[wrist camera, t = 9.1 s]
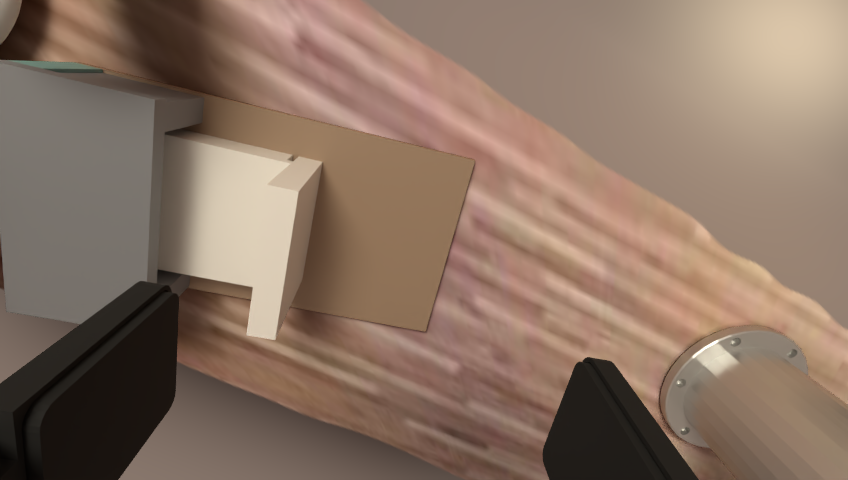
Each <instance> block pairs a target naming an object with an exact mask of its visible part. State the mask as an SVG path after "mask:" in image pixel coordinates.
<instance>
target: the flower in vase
mask: <svg viewBox="0 0 848 480" xmlns="http://www.w3.org/2000/svg"><path fill="white" fill-rule="evenodd" d="M21 3H22V0H0V44H1V43H2V42H3V41H4V40H5V39H6V38H7V36H8V34H9V33H10V31H11V30H12V28H13V26H14V24H15V22H16V20H17V17H18V15H19V12H20V7H21Z"/></svg>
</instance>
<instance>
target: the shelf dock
mask: <svg viewBox="0 0 848 480" xmlns="http://www.w3.org/2000/svg"><path fill="white" fill-rule="evenodd" d="M176 129H183V130H188V131H192V132H196V133H200V134H205V135H209V136H213V137H218V138H222V139H226V140H231V141H235V142H239V143H243V144H248V145H252V146H256V147H261V148H265V149H269V150H274V151H278V152H282V153H286V154H291V155H293V157H292V161H294V160H295V159H296V158H298V157H304V158H308V159H312V160H317V161H321V162H323V163H322V169H321V175H320V180H319V186H318V192H317V198H316V203H315V209H314V215H313V221H312V227H311V232H310V238H309V244H308V250H307V255H306V261H305V267H304V273H303V278H302V281H301V283H300V286H299V288H298V290H297V292H296V295H295V297H294V299H293V301H292V304H291V306H290V307H294V308H299V309H305V310H310V311H315V312H321V313H326V314H332V315H337V316H343V317H348V318H353V319H359V320H364V321H370V322H375V323H381V324H386V325H391V326H397V327H402V328H408V329H413V330H419V331H424V332H426V328H427V325H428V321H429V318H430V314H431V311H432V308H433V304H434V301H435V297H436V294H437V290H438V287H439V284H440V280H441V277H442V273H443V270H444V266H445V263H446V259H447V256H448V253H449V249H450V246H451V242H452V239H453V235H454V232H455V228H456V225H457V222H458V218H459V215H460V211H461V208H462V204H463V201H464V198H465V194H466V191H467V187H468V184H469V180H470V177H471V173H472V170H473V167H474V163H475V160H474V159H470V158H466V157H462V156H458V155H454V154H450V153H446V152H442V151H438V150H434V149H430V148H426V147H422V146H418V145H413V144H409V143H405V142H401V141H397V140H393V139H389V138H385V137H381V136H377V135H373V134H369V133H365V132H361V131H356V130H352V129H348V128H344V127H340V126H336V125H332V124H328V123H324V122H320V121H316V120H312V119H308V118H304V117H300V116H295V115H291V114H287V113H283V112H279V111H275V110H271V109H267V108H263V107H259V106H255V105H251V104H247V103H243V102H238V101H234V100H230V99H226V98H222V97H218V96H214V95H210V94H206V93H202V92H198V91H194V90H190V89H186V88H182V87H177V86H173V85H169V84H165V83H161V82H157V81H153V80H149V79H145V78H141V77H137V76H133V75H129V74H125V73H120V72H116V71H112V70H108V69H104V68H100V67H96V66H92V65H88V64H84V63H77V62H48V61H18V60H0V238H1V251H2V263H3V276H4V289H5V301H6V312H11V313H17V314H24V315H30V316H35V317H41V318H47V319H53V320H59V321H65V322H71V323H78V324H82V323H83V322H84V321H86V320H87V319H88V318H90V317H91V316H92V315H94V314H95V313H96V312H98V311H99V310H101V309H102V308H103V307H105V306H106V305H107V304H109V303H110V302H111V301H113V300H114V299H115V298H117V297H118V296H120V295H121V294H122V293H124V292H125V291H126V290H128V289H129V288H130V287H132V286H133V285H134V284H136V283H137V282H139V281H146V282H151V283H157V284H163V285H169V286H170V287H171V290H172V293H176V294H177V295H178V297H179V296H180V295H181V294H182V293H183V292H184V291H185V290H186V289H187V288H191V289H196V290H201V291H207V292H212V293H218V294H223V295H229V296H234V297H239V298H245V299H250V300H251V298H252V290H253V287H249V286H244V285H239V284H233V283H228V282H223V281H217V280H212V279H207V278H201V277H196V276H191V275H185V274H180V273H175V272H169V271H164V270H159V269H158V250H159V231H160V212H161V192H162V173H163V153H164V134H165V132H168V131H172V130H176Z"/></svg>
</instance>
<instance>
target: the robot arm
mask: <svg viewBox="0 0 848 480" xmlns="http://www.w3.org/2000/svg"><path fill="white" fill-rule="evenodd" d="M178 310H179V297H178V295H177V294H176V293H172V290H171V287H170V286H169V285H163V284H157V283H151V282H146V281H139V282H137V283H136V284H134V285H133V286H132V287H130V288H129V289H128V290H126V291H125V292H124V293H122V294H121V295H120V296H118V297H117V298H115V299H114V300H113V301H111V302H110V303H109V304H107V305H106V306H105V307H103V308H102V309H101V310H99V311H98V312H96V313H95V314H94V315H92V316H91V317H90V318H88V319H87V320H86V321H84V322H83V323H82V324H80V325H79V326H78V327H77V328H75V329H73V330H72V331H71V332H69V333H68V334H67V335H65V336H64V337H63V338H61V339H60V340H59V341H57V342H56V343H54V344H53V345H52V346H50V347H49V348H48V349H46V350H45V351H44V352H42V353H41V354H40V355H38V356H37V357H36V358H34V359H33V360H32V361H30V362H29V363H27V364H26V365H25V366H23V367H22V368H21V369H19V370H18V371H17V372H15V373H14V374H12V375H11V376H10V377H8V378H7V379H6V380H4V381H3V382H2V383H1V384H0V480H118V479H119V478H120V476H121V475H122V474H123V472H124V471H125V469H126V468H127V467H128V466H129V464H130V463H131V461H132V460H133V458H134V457H135V456H136V455H137V453H138V452H139V450H140V449H141V447H142V446H143V445H144V444H145V442H146V441H147V439H148V438H149V437H150V435H151V434H152V433H153V431H154V429H155V428H156V427H157V425H158V424H159V423H160V421H161V420H162V419H163V418H164V416H165V415H166V413H167V412H168V411H169V409H170V407H171V405H172V403H173V401H174V397H175V391H176V390H175V389H176V364H177V337H178ZM660 405H661V411H662V414H663V416H664V419H665V421H666V422H667V423H668V425H669V426H670V427H671V429H672V430H673V431H674V432H675V434H676V435H677V436H678V437H680V438H681V439H683V440H685V441H686V442H688V443H690V444H693V445H696V446H699V447H706V448H711V449H712V450H713V452H714V453H715V454H716V455H717V456H718V458H719V459H720V460H721V461H722V462H723V463H724V465H725V466H726V467H727V468H728V469H729V471H730V472H731V473H732V474H733V475H734V477H735V478H736V479H737V480H848V405H847V404H846V403H845V402H843V401H842V400H841V399H839V398H838V397H836V396H835V395H834V394H832V393H831V392H830V391H828V390H827V389H826V388H824V387H823V386H821V385H820V384H819V383H817V382H816V381H815V380H813V379H812V378H810V377H809V376H808V366H807V361H806V357H805V355H804V353H803V352H802V350H801V348H800V347H799V346H798V345H797V344H796V343H795V342H794V341H793V340H791V339H790V338H788V337H787V336H785V335H784V334H782V333H781V332H778V331H776V330H774V329H772V328H768V327H763V326H753V325H744V326H738V327H731V328H728V329H725V330H722V331H718V332H716V333H714V334H712V335H710V336H708V337H705V338H703V339H702V340H700V341H699V342H697V343H696V344H694V345H693V346H691V347H690V348H689V349H688V350H687V351H686V352H685V353H683V354H682V355H681V356H680V357H679V359H678V360H677V361H676V362H675V363H674V365H673V366H672V367H671V369H670V371H669V372H668V374H667V376H666V378H665V380H664V383H663V386H662V389H661V396H660ZM543 462H544V466H545V468H546V471H547V474H548V477H549V480H699V479H698V478H697V477H696V475H695V474H694V473H693V471H692V470H691V468H690V467H689V466H688V464H687V463H686V462H685V460H684V459H683V458H682V456H681V455H680V453H679V452H678V451H677V449H676V448H675V447H674V445H673V444H672V443H671V441H670V440H669V438H668V437H667V436H666V434H665V433H664V432H663V430H662V429H661V427H660V426H659V425H658V423H657V422H656V421H655V419H654V418H653V417H652V415H651V414H650V412H649V411H648V410H647V408H646V407H645V406H644V404H643V403H642V401H641V400H640V399H639V397H638V396H637V395H636V393H635V392H634V391H633V389H632V388H631V386H630V385H629V384H628V382H627V381H626V380H625V378H624V377H623V376H622V374H621V373H620V371H619V370H618V369H617V367H616V366H615V365H614V363H612V362H611V361H607V360H601V359H595V358H590V357H587V358H585V359H584V360H583V362H578V363H577V364H576V365H575V367H574V370H573V372H572V375H571V378H570V380H569V383H568V385H567V388H566V391H565V393H564V396H563V398H562V401H561V404H560V406H559V409H558V411H557V414H556V416H555V419H554V422H553V424H552V427H551V429H550V432H549V435H548V437H547V440H546V442H545V445H544V448H543Z"/></svg>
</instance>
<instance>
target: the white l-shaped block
mask: <svg viewBox="0 0 848 480" xmlns="http://www.w3.org/2000/svg"><path fill="white" fill-rule="evenodd" d="M292 157H293V155H291V154H286V153H282V152H278V151H274V150H269V149H265V148H261V147H256V146H252V145H248V144H243V143H239V142H235V141H231V140H226V139H222V138H218V137H213V136H209V135H205V134H200V133H196V132H192V131H188V130H183V129H176V130H172V131H168V132H165V134H164V153H163V173H162V192H161V212H160V231H159V250H158V269H159V270H164V271H169V272H175V273H180V274H185V275H191V276H196V277H201V278H207V279H212V280H217V281H223V282H228V283H233V284H239V285H244V286H249V287H253V290H252V298H251V305H250V313H249V321H248V328H247V335H248V336H254V337H260V338H266V339H272V340H275V339H276V337H277V335H278V333H279V330H280V328H281V326H282V324H283V321H284V319H285V317H286V315H287V312H288V310H289V308H290V306H291V304H292V301H293V299H294V297H295V295H296V292H297V290H298V288H299V286H300V283H301V281H302V278H303V273H304V267H305V261H306V255H307V250H308V244H309V238H310V232H311V227H312V221H313V215H314V209H315V203H316V198H317V192H318V186H319V180H320V175H321V169H322V163H323V162H321V161H317V160H312V159H308V158H304V157H298V158H296V159H295V160H294V161H292Z"/></svg>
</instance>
